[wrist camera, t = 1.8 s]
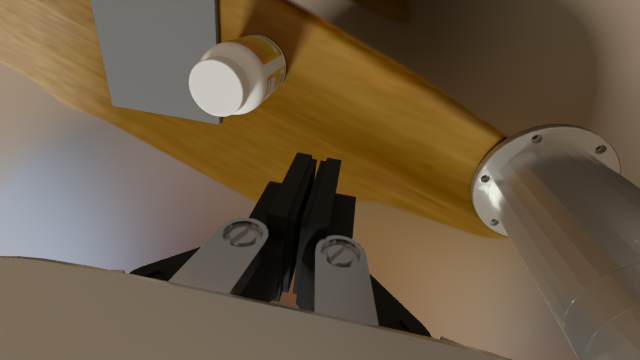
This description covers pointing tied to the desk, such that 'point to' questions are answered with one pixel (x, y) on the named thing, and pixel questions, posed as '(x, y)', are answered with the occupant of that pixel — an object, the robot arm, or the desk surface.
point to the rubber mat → (155, 52)
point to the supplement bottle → (237, 75)
